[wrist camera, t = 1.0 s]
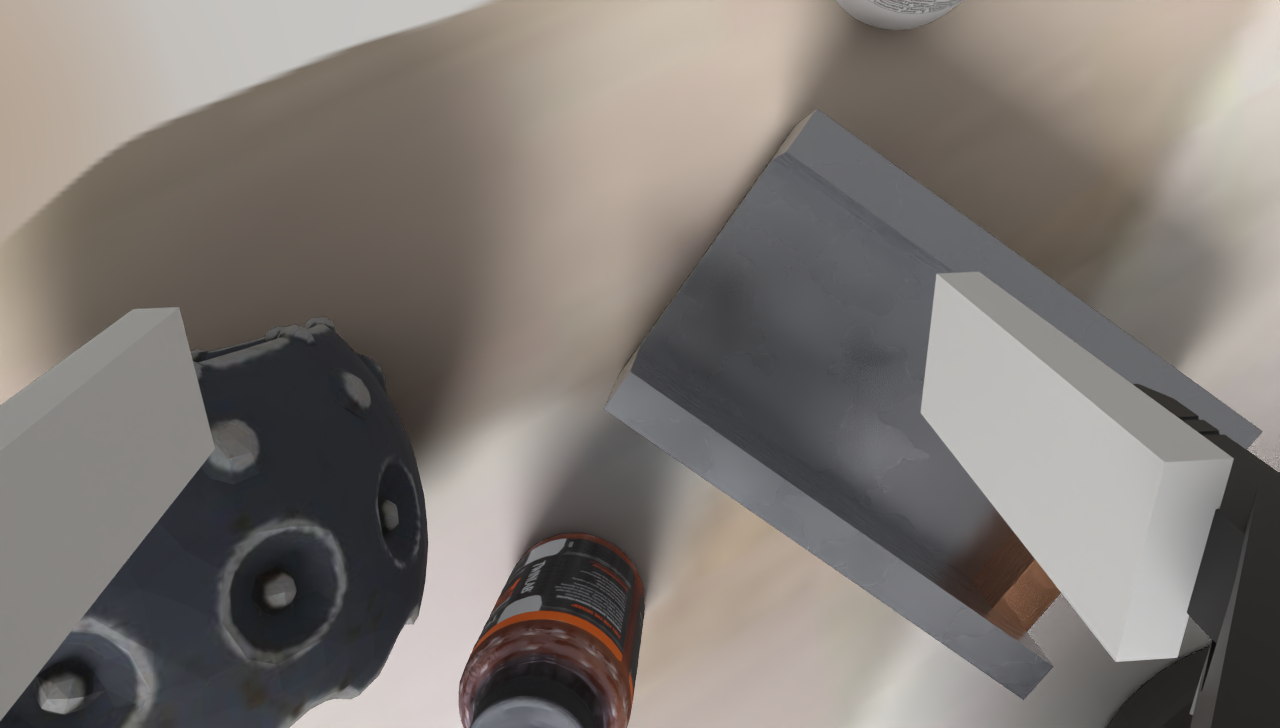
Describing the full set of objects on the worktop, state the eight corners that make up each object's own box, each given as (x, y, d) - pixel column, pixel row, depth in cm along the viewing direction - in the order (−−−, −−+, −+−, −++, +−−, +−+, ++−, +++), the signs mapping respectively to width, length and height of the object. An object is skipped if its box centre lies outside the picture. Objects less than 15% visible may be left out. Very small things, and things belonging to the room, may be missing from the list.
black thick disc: (4, 400, 38) (-741, 612, 18) (437, 281, 36) (121, 376, 16) (94, 624, 40) (-501, 1039, 20) (512, 524, 37) (309, 878, 18)
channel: (1163, 391, 35) (1262, 431, 29) (969, 617, 37) (1023, 699, 31) (795, 125, 34) (816, 108, 28) (619, 374, 36) (603, 409, 30)
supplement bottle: (512, 521, 37) (435, 655, 26) (651, 534, 37) (632, 675, 26) (506, 649, 38) (429, 830, 27) (640, 663, 38) (617, 851, 27)
